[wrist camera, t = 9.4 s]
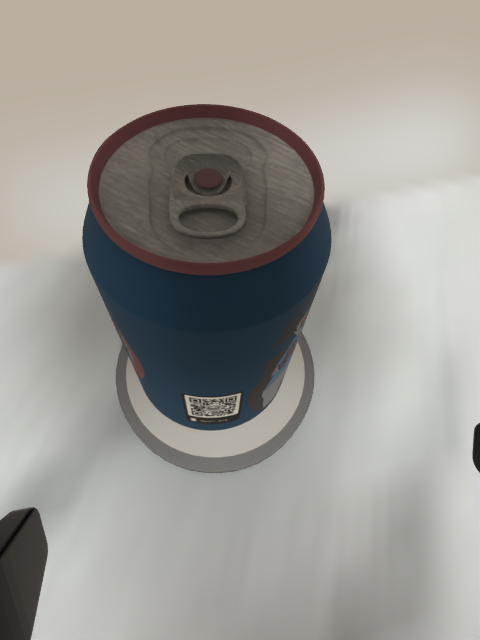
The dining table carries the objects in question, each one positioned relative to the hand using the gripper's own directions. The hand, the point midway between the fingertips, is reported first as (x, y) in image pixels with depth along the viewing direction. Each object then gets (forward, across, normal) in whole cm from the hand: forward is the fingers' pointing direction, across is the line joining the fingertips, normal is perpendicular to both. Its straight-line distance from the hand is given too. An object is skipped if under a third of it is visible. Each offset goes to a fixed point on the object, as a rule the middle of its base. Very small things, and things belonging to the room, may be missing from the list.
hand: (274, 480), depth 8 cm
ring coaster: (+13, 0, +3) cm, 13 cm away
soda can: (+12, 0, +2) cm, 12 cm away
